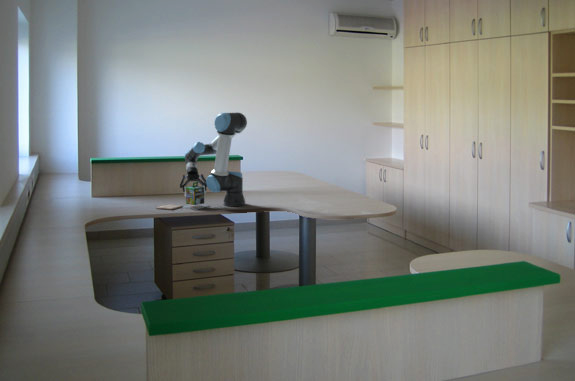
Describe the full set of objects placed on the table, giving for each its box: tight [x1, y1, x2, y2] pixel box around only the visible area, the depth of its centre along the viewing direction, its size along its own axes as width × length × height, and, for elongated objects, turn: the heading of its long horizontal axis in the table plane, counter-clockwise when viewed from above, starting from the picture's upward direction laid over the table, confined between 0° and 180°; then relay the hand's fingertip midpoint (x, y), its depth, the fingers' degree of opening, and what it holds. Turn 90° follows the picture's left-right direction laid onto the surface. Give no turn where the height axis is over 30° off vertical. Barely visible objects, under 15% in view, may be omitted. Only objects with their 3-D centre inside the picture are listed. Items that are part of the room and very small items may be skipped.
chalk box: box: [185, 181, 205, 205], centre depth 431 cm, size 9×9×15 cm
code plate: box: [180, 204, 211, 210], centre depth 432 cm, size 14×14×1 cm
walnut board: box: [155, 203, 184, 211], centre depth 429 cm, size 13×13×1 cm
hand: (195, 194), depth 428 cm, fingers closed on chalk box, 12 cm apart
